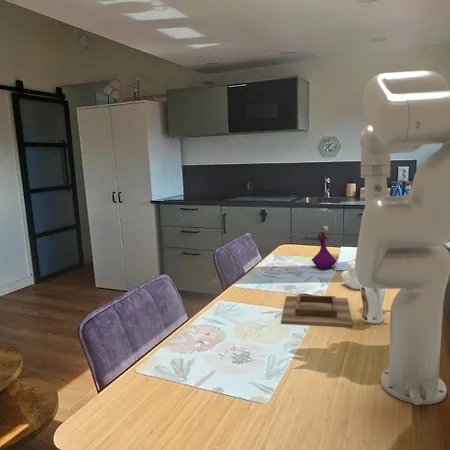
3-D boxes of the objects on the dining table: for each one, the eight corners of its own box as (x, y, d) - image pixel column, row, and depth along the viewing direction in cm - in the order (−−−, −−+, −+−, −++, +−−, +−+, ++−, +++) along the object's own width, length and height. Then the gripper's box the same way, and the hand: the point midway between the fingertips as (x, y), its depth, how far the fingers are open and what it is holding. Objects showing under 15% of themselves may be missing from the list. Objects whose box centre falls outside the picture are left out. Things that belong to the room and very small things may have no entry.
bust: (340, 290, 149) (332, 272, 143) (347, 274, 153) (339, 255, 146) (372, 297, 142) (365, 278, 135) (379, 279, 145) (372, 260, 138)
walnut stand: (352, 327, 115) (352, 317, 114) (281, 323, 119) (280, 313, 118) (347, 300, 134) (347, 292, 133) (286, 298, 138) (286, 290, 138)
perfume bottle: (311, 267, 172) (310, 225, 169) (325, 264, 176) (325, 223, 172) (322, 271, 166) (322, 228, 162) (336, 268, 169) (337, 226, 165)
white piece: (386, 324, 115) (388, 274, 112) (361, 323, 116) (361, 273, 114) (382, 315, 122) (383, 266, 119) (358, 314, 123) (358, 266, 120)
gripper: (395, 173, 102) (393, 240, 105) (384, 169, 118) (383, 226, 122) (364, 174, 103) (363, 239, 107) (357, 170, 120) (357, 226, 123)
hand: (373, 232), depth 114 cm, fingers open, 9 cm apart
